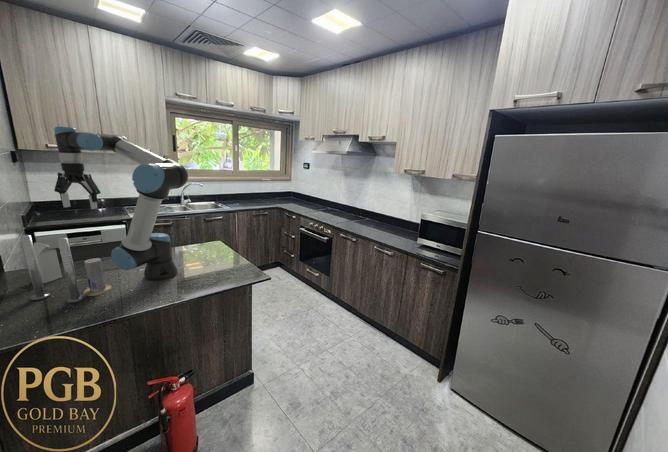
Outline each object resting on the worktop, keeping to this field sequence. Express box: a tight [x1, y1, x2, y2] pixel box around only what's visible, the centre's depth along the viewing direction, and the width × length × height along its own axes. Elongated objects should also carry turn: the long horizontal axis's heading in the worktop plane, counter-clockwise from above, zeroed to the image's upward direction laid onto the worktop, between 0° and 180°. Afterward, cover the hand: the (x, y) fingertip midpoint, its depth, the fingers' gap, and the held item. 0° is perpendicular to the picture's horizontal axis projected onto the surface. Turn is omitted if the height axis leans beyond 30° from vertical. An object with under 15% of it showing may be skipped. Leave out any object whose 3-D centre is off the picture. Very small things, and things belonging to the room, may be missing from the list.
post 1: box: [19, 234, 52, 302], centre depth 115 cm, size 6×6×28 cm
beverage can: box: [84, 257, 107, 292], centre depth 124 cm, size 6×6×15 cm
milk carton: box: [33, 242, 63, 284], centre depth 132 cm, size 7×7×19 cm
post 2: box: [57, 236, 86, 305], centre depth 114 cm, size 6×6×28 cm
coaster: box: [82, 284, 112, 297], centre depth 126 cm, size 10×10×1 cm
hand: (80, 207), depth 129 cm, fingers open, 13 cm apart
